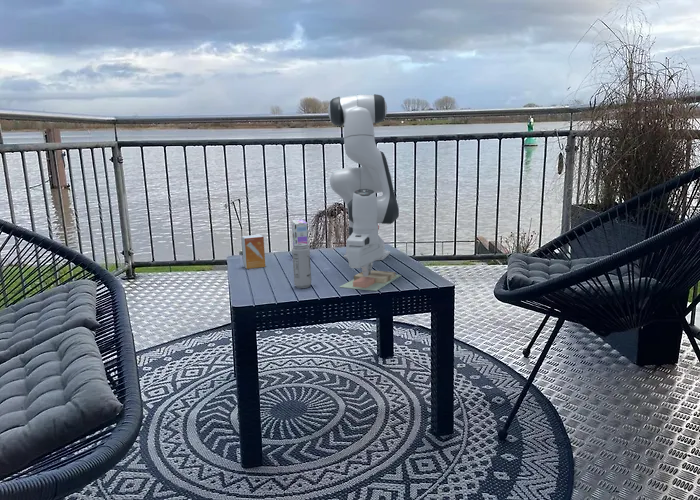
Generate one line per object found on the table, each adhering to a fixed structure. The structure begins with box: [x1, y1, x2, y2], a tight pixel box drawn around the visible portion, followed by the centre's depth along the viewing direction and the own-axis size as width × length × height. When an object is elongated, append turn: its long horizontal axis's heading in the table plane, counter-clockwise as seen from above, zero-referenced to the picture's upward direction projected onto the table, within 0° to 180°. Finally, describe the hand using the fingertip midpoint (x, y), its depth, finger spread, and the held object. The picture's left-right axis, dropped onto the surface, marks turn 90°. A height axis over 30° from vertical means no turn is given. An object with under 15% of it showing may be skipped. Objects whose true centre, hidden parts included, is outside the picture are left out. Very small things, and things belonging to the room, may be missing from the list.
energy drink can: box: [291, 243, 312, 289], centre depth 181 cm, size 6×6×15 cm
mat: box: [339, 274, 402, 292], centre depth 186 cm, size 22×14×1 cm, turn 152°
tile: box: [353, 277, 375, 288], centre depth 180 cm, size 7×5×2 cm
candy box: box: [290, 219, 310, 248], centre depth 231 cm, size 14×6×16 cm, turn 12°
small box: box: [241, 234, 266, 270], centre depth 216 cm, size 8×6×13 cm
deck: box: [353, 269, 397, 283], centre depth 188 cm, size 10×12×2 cm
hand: (367, 275), depth 182 cm, fingers closed
